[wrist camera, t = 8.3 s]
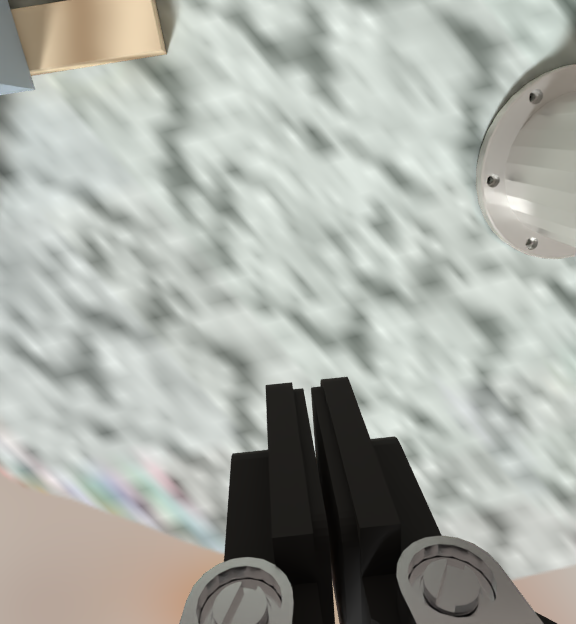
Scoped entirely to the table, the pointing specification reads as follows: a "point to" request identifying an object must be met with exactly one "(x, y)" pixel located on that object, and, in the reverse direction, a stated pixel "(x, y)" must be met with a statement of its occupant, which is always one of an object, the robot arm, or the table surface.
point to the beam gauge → (87, 33)
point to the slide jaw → (12, 56)
